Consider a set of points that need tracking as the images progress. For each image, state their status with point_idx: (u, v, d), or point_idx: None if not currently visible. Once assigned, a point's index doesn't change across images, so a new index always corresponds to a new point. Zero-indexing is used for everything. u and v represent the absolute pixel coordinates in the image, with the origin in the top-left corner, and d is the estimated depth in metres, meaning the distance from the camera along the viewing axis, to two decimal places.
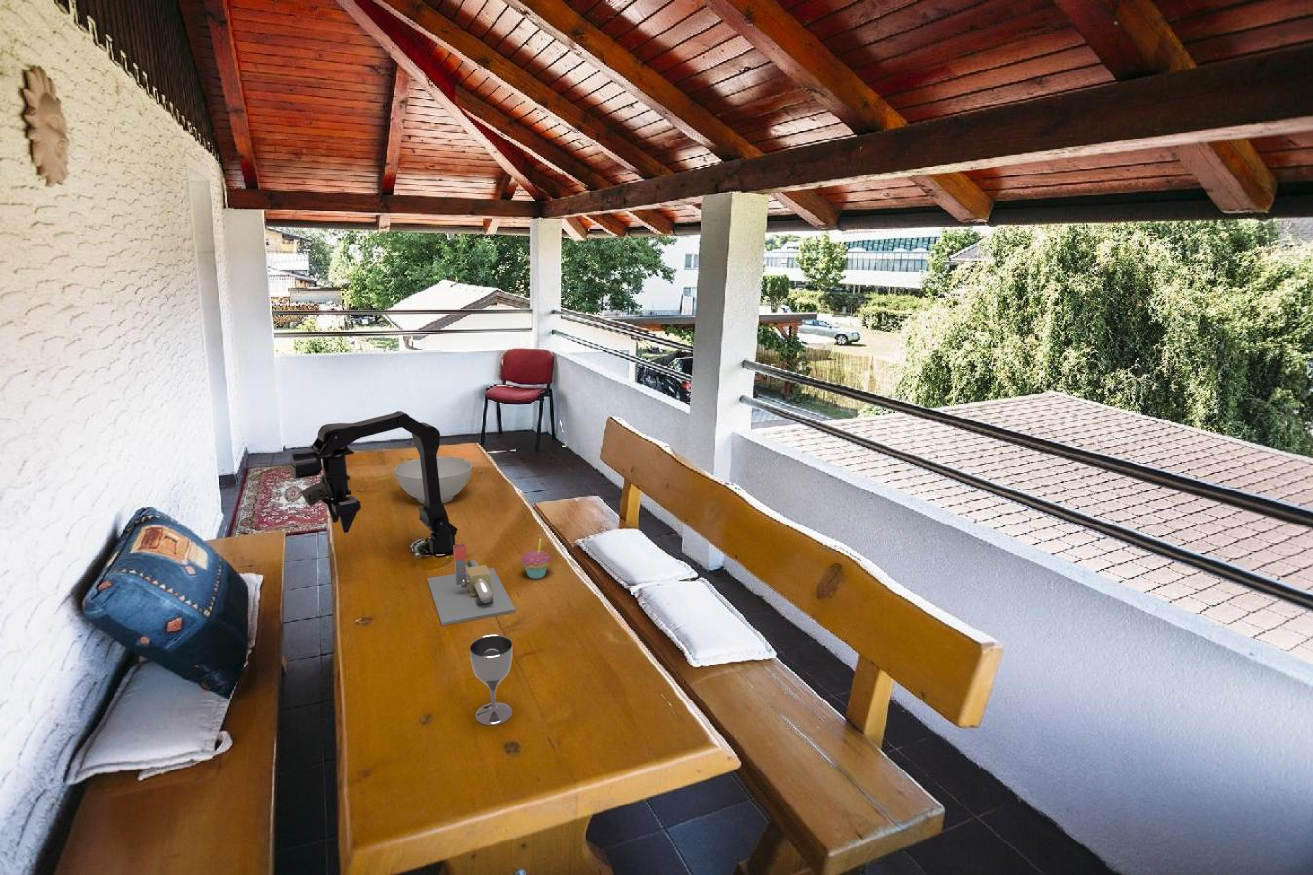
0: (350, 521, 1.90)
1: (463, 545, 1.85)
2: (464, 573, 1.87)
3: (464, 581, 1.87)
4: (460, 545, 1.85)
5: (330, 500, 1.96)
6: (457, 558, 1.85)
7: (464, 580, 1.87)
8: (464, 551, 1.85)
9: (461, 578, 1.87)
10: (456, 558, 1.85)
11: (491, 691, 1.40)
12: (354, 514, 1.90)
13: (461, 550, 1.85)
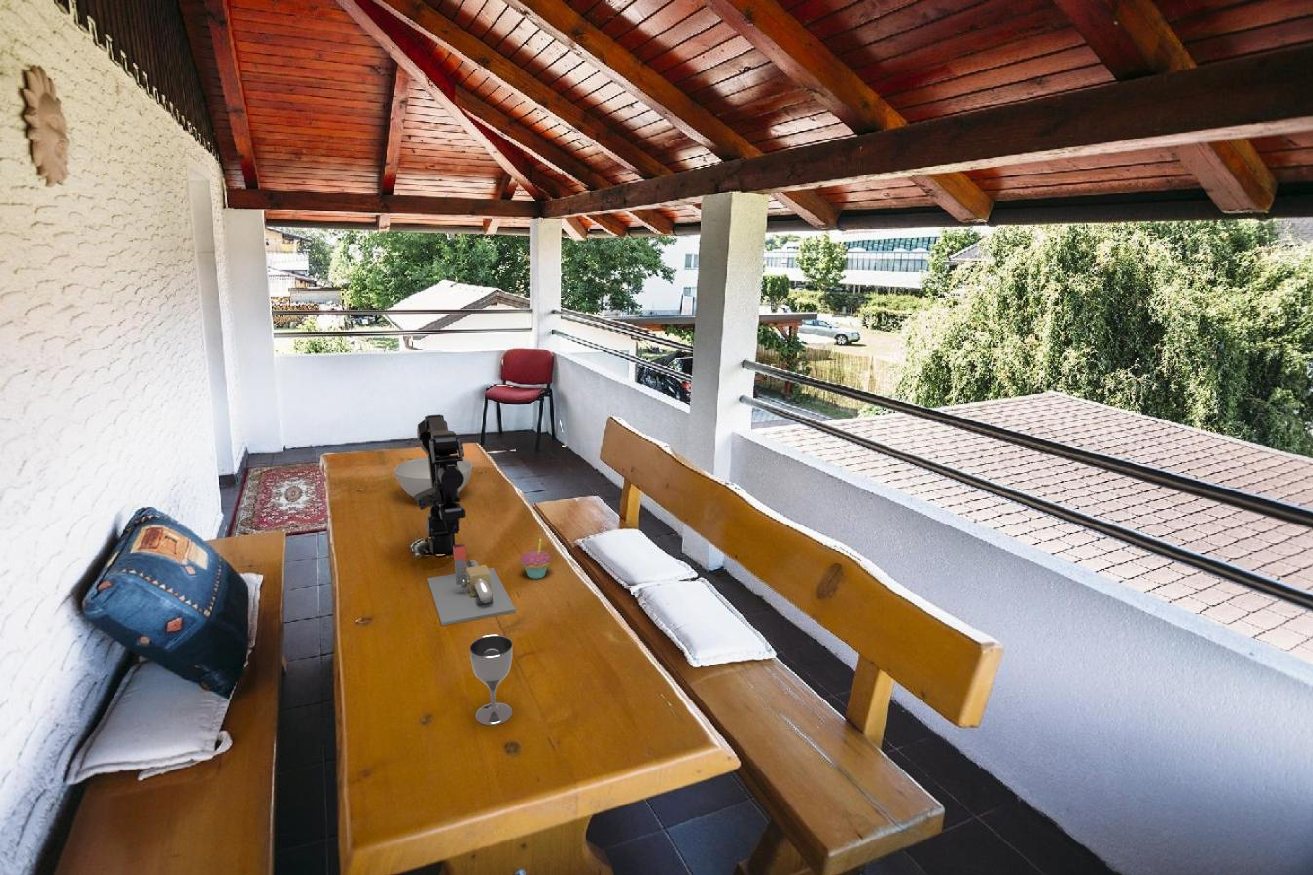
0: (453, 522, 1.98)
1: (463, 545, 1.85)
2: (464, 573, 1.87)
3: (464, 581, 1.87)
4: (460, 545, 1.85)
5: None
6: (457, 558, 1.85)
7: (464, 580, 1.87)
8: (464, 551, 1.85)
9: (461, 578, 1.87)
10: (456, 558, 1.85)
11: (491, 691, 1.40)
12: None
13: (461, 550, 1.85)
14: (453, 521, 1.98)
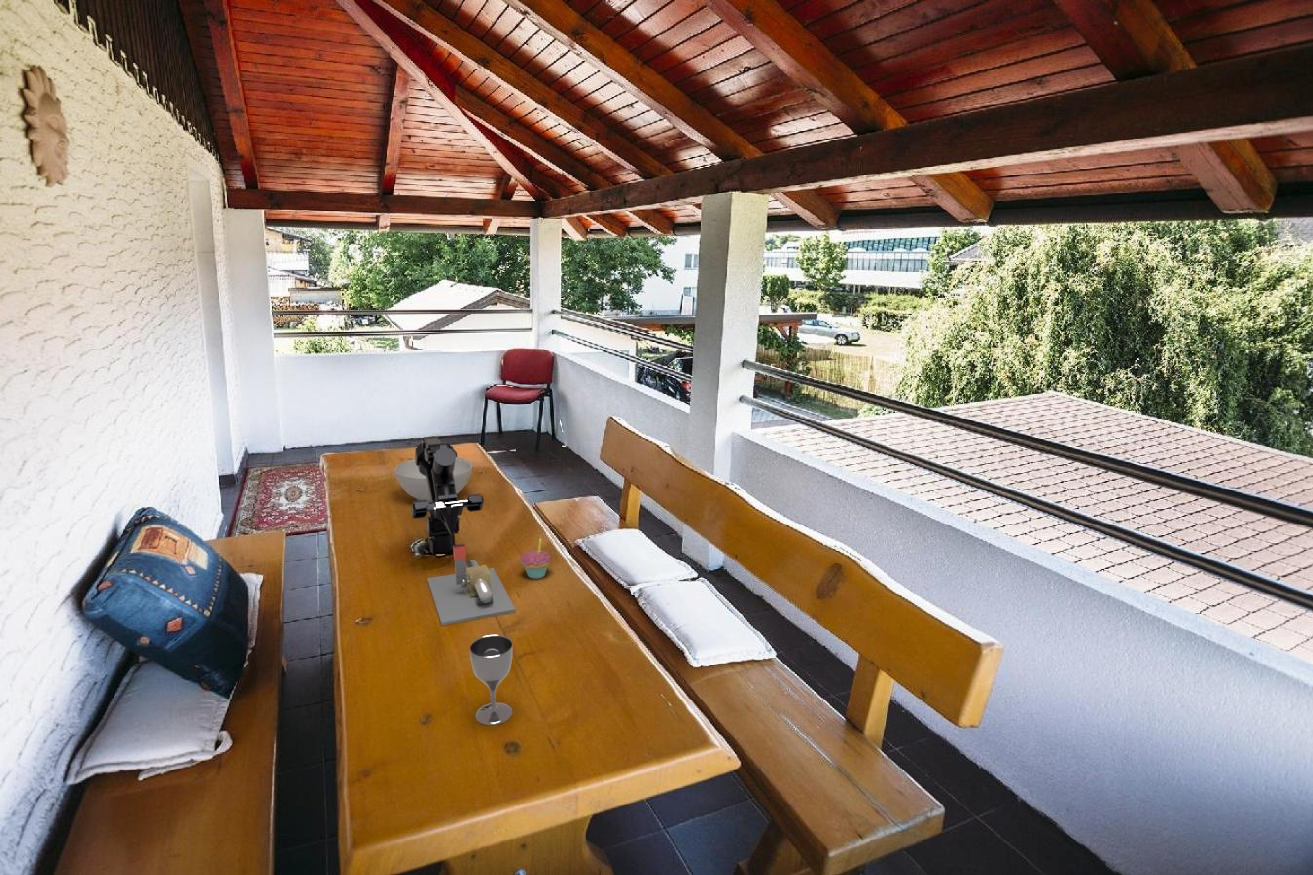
0: (445, 522, 1.94)
1: (463, 545, 1.85)
2: (464, 573, 1.87)
3: (464, 581, 1.87)
4: (460, 545, 1.85)
5: (451, 513, 1.98)
6: (457, 558, 1.85)
7: (464, 580, 1.87)
8: (464, 551, 1.85)
9: (461, 578, 1.87)
10: (456, 558, 1.85)
11: (491, 691, 1.40)
12: (442, 514, 1.94)
13: (461, 550, 1.85)
14: (445, 521, 1.95)
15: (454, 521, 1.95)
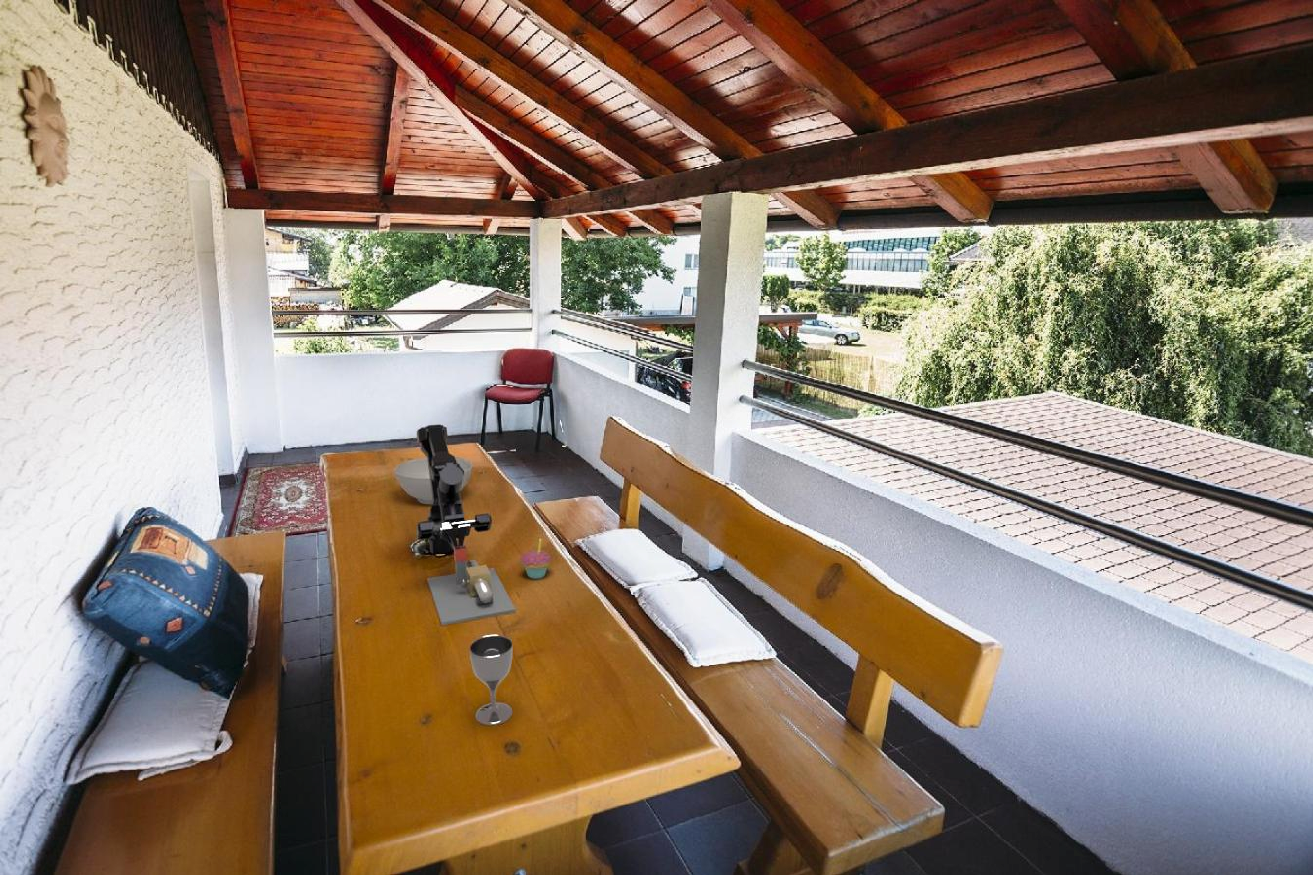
0: (452, 543, 1.86)
1: (464, 547, 1.84)
2: (464, 574, 1.86)
3: (464, 581, 1.87)
4: (461, 547, 1.84)
5: (458, 534, 1.89)
6: (458, 560, 1.84)
7: (464, 580, 1.87)
8: (465, 553, 1.84)
9: (461, 579, 1.87)
10: (457, 560, 1.84)
11: (491, 691, 1.40)
12: (449, 535, 1.86)
13: (462, 552, 1.84)
14: (452, 542, 1.86)
15: (461, 542, 1.86)
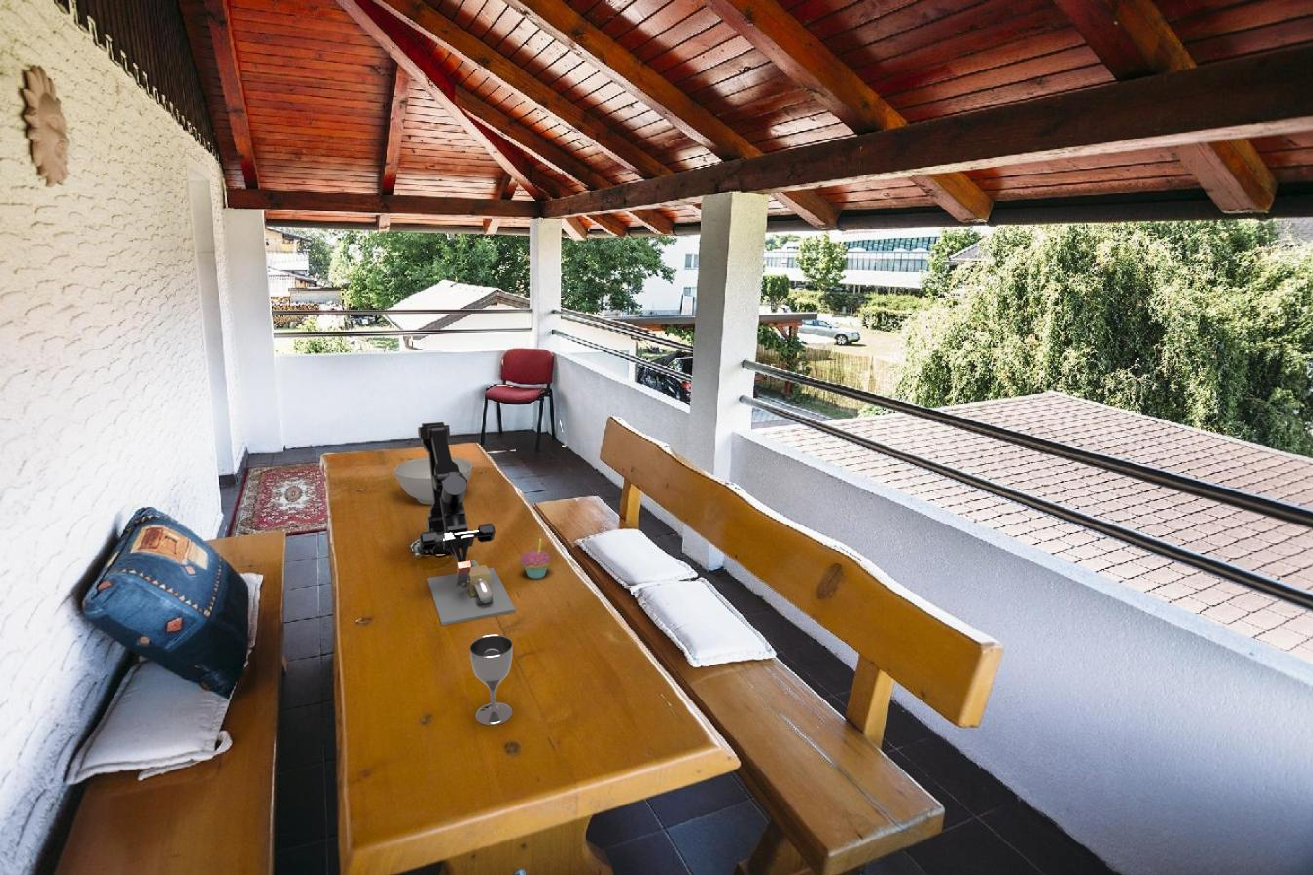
0: (455, 554, 1.82)
1: (468, 564, 1.80)
2: (465, 579, 1.85)
3: (464, 584, 1.87)
4: (465, 564, 1.80)
5: (461, 545, 1.86)
6: (460, 573, 1.81)
7: (464, 583, 1.87)
8: (468, 569, 1.81)
9: (462, 582, 1.86)
10: (459, 573, 1.81)
11: (491, 691, 1.40)
12: (452, 546, 1.82)
13: (466, 569, 1.80)
14: (455, 553, 1.83)
15: (464, 553, 1.83)
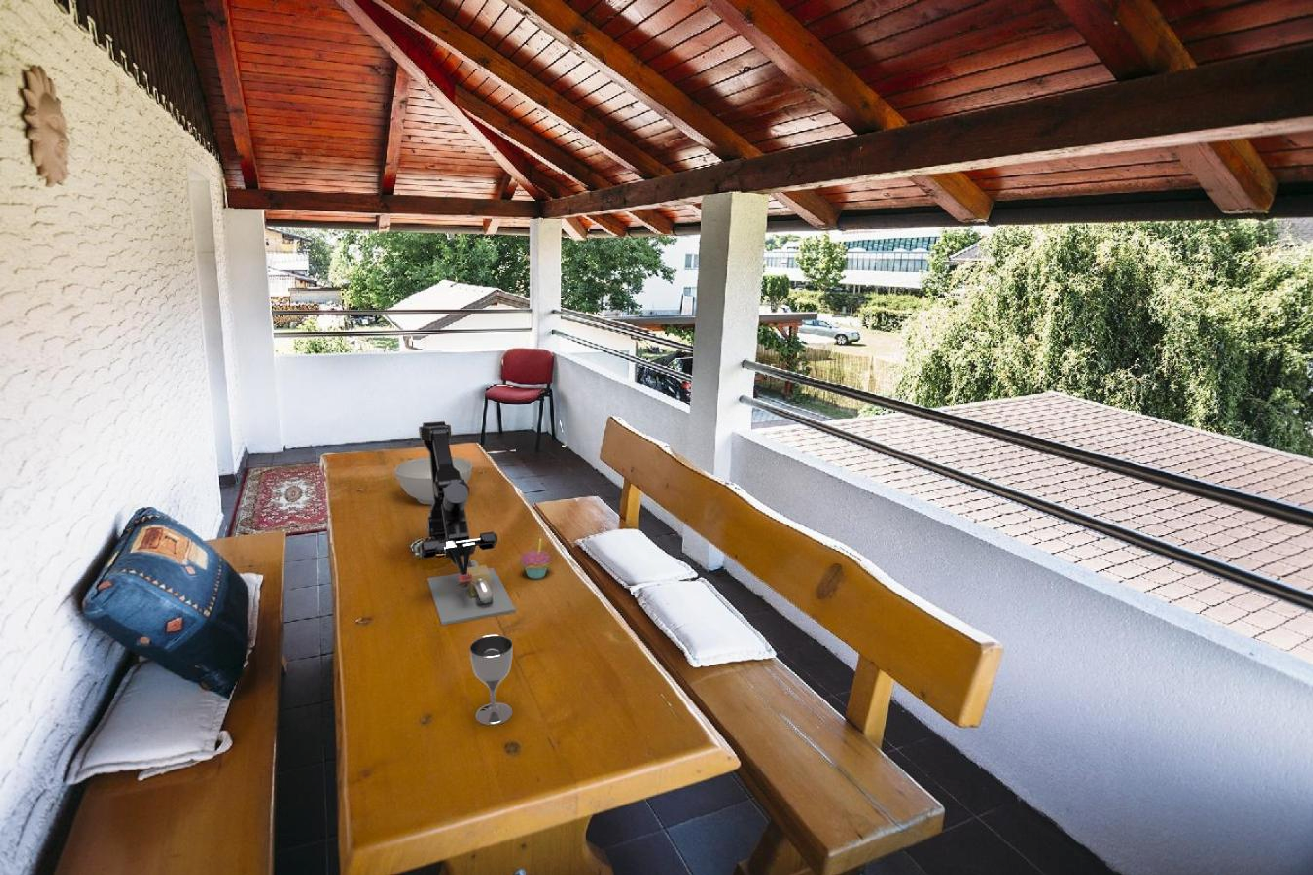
0: (457, 563, 1.81)
1: (470, 577, 1.79)
2: (466, 583, 1.85)
3: (464, 585, 1.87)
4: (467, 577, 1.78)
5: (462, 553, 1.85)
6: (462, 582, 1.81)
7: (465, 585, 1.87)
8: (470, 580, 1.80)
9: (462, 584, 1.86)
10: (461, 583, 1.80)
11: (491, 691, 1.40)
12: (453, 555, 1.81)
13: (467, 581, 1.79)
14: (456, 562, 1.82)
15: (466, 562, 1.82)
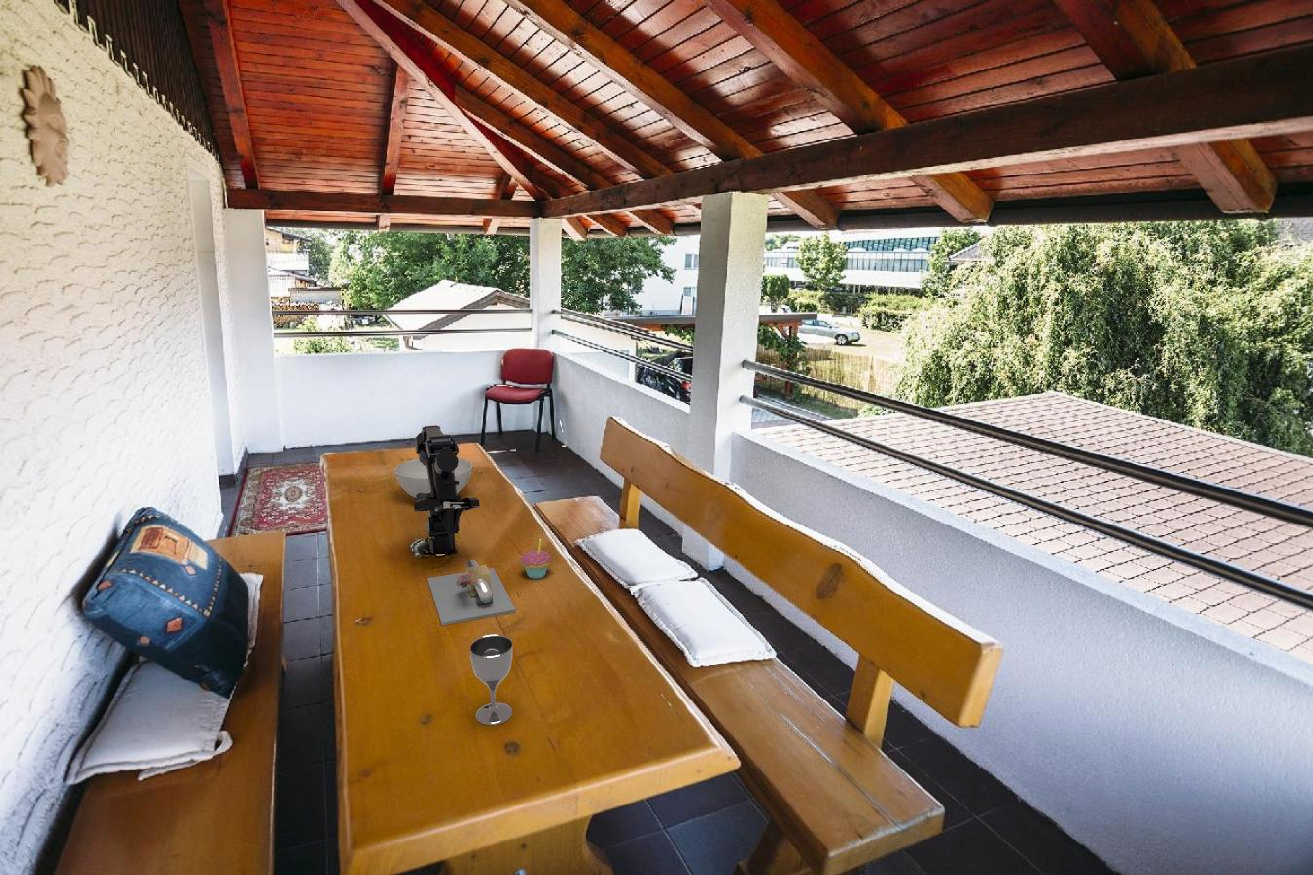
0: (448, 522, 1.95)
1: (470, 577, 1.79)
2: (466, 583, 1.85)
3: (464, 585, 1.87)
4: (467, 577, 1.78)
5: None
6: (462, 582, 1.81)
7: (465, 585, 1.87)
8: (470, 580, 1.80)
9: (462, 584, 1.86)
10: (461, 583, 1.80)
11: (491, 691, 1.40)
12: (448, 515, 1.95)
13: (467, 581, 1.79)
14: (448, 521, 1.95)
15: (456, 523, 1.97)
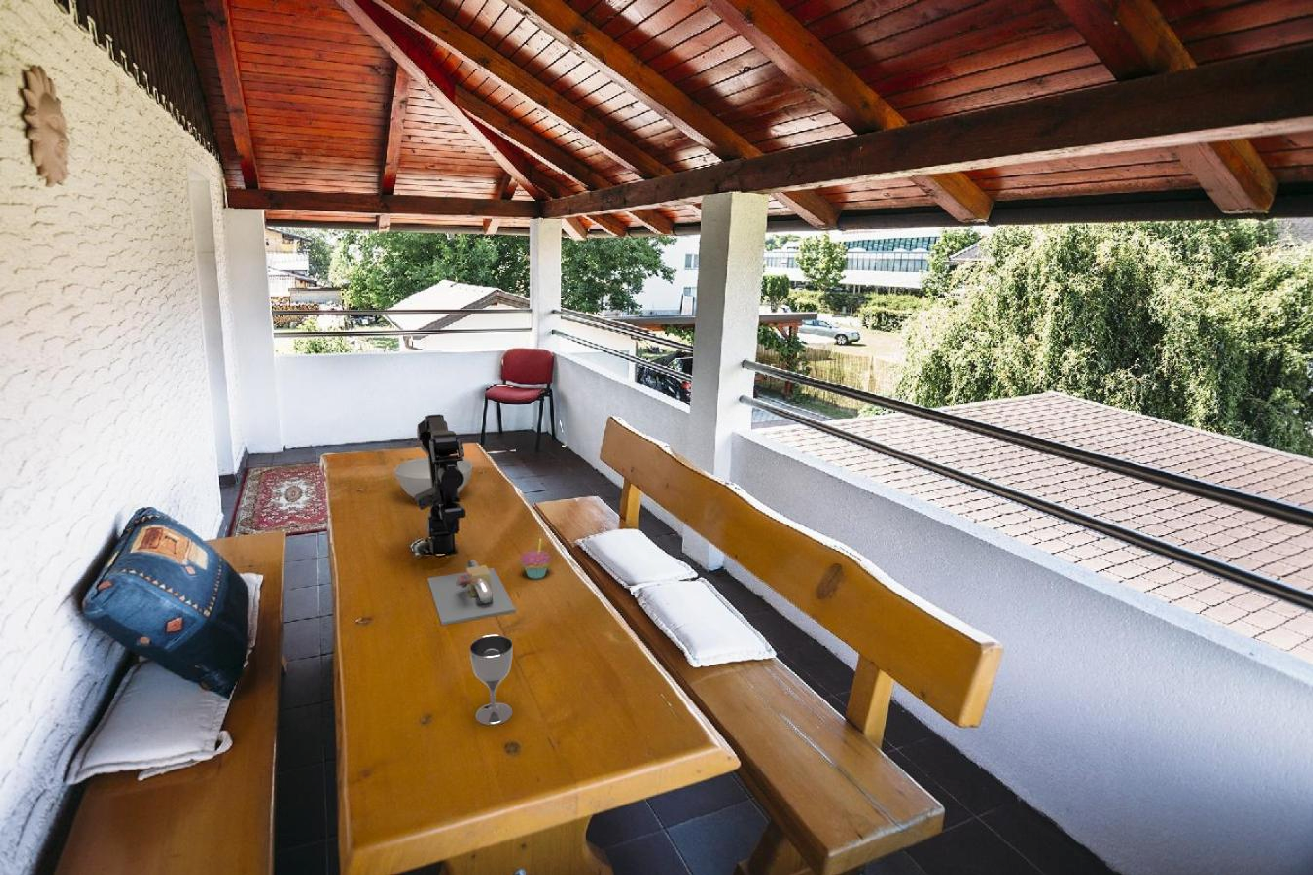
0: (453, 522, 1.98)
1: (470, 577, 1.79)
2: (466, 583, 1.85)
3: (464, 585, 1.87)
4: (467, 577, 1.78)
5: None
6: (462, 582, 1.81)
7: (465, 585, 1.87)
8: (470, 580, 1.80)
9: (462, 584, 1.86)
10: (461, 583, 1.80)
11: (491, 691, 1.40)
12: None
13: (467, 581, 1.79)
14: (453, 521, 1.98)
15: None
